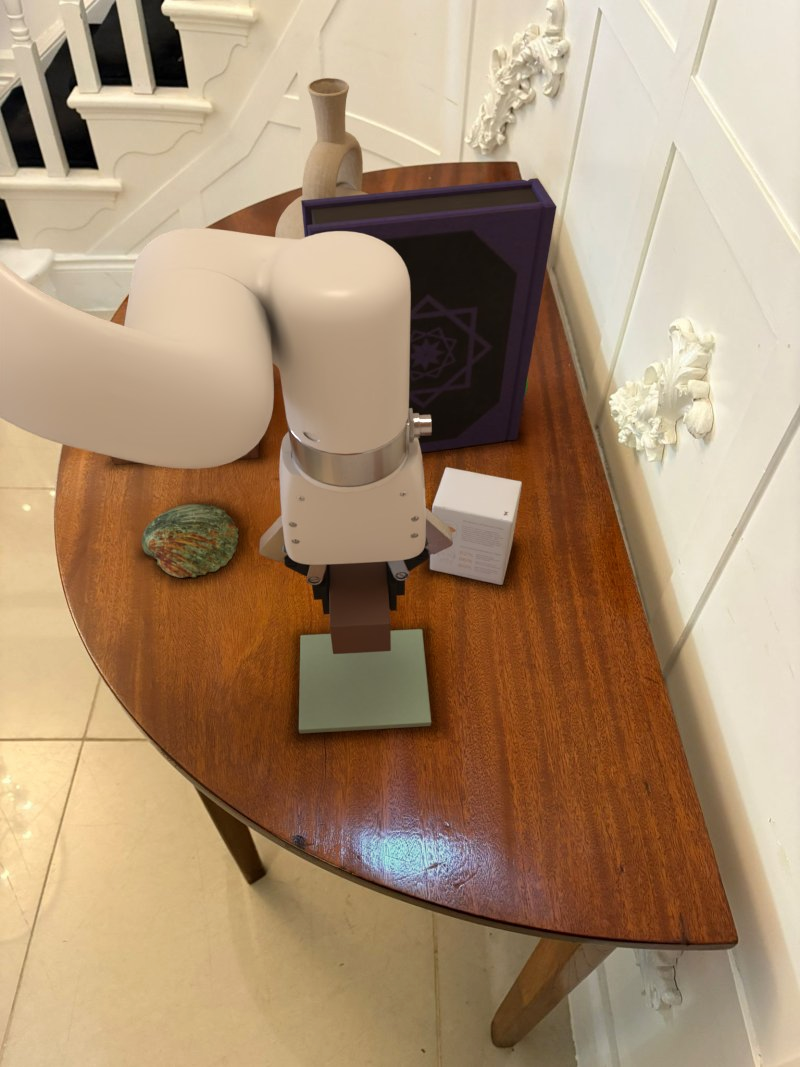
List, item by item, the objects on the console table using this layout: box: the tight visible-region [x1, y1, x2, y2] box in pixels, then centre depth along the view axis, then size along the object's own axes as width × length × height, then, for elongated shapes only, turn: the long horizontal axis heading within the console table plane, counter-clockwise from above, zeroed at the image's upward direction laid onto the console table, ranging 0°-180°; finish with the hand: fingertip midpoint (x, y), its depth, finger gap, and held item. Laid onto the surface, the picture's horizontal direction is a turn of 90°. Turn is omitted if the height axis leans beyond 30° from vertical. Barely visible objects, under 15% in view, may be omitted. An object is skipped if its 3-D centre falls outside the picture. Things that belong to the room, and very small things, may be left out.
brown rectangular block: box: [329, 561, 392, 654], centre depth 62 cm, size 4×10×4 cm, turn 4°
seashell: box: [141, 503, 239, 579], centre depth 83 cm, size 10×4×10 cm
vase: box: [274, 77, 368, 239], centre depth 100 cm, size 17×17×30 cm
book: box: [301, 177, 558, 454], centre depth 83 cm, size 24×6×30 cm, turn 102°
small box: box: [429, 466, 523, 586], centre depth 79 cm, size 8×6×10 cm
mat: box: [298, 628, 432, 734], centre depth 74 cm, size 12×10×1 cm
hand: (359, 596), depth 63 cm, fingers closed on brown rectangular block, 4 cm apart
